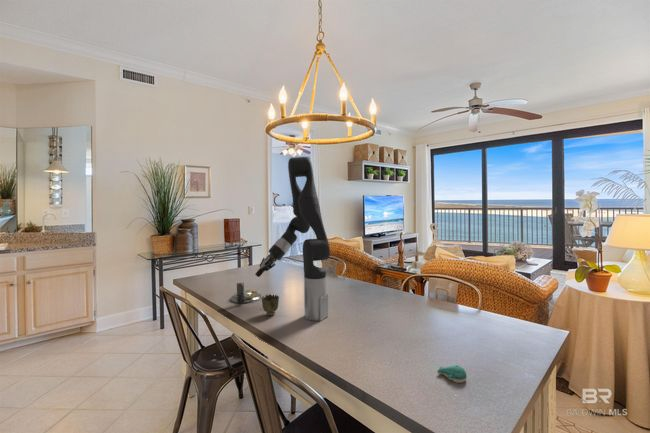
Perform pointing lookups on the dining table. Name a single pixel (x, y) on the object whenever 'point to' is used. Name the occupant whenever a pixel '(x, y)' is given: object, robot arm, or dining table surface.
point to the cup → (270, 304)
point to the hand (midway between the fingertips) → (256, 275)
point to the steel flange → (247, 299)
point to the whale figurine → (453, 373)
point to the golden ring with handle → (240, 293)
